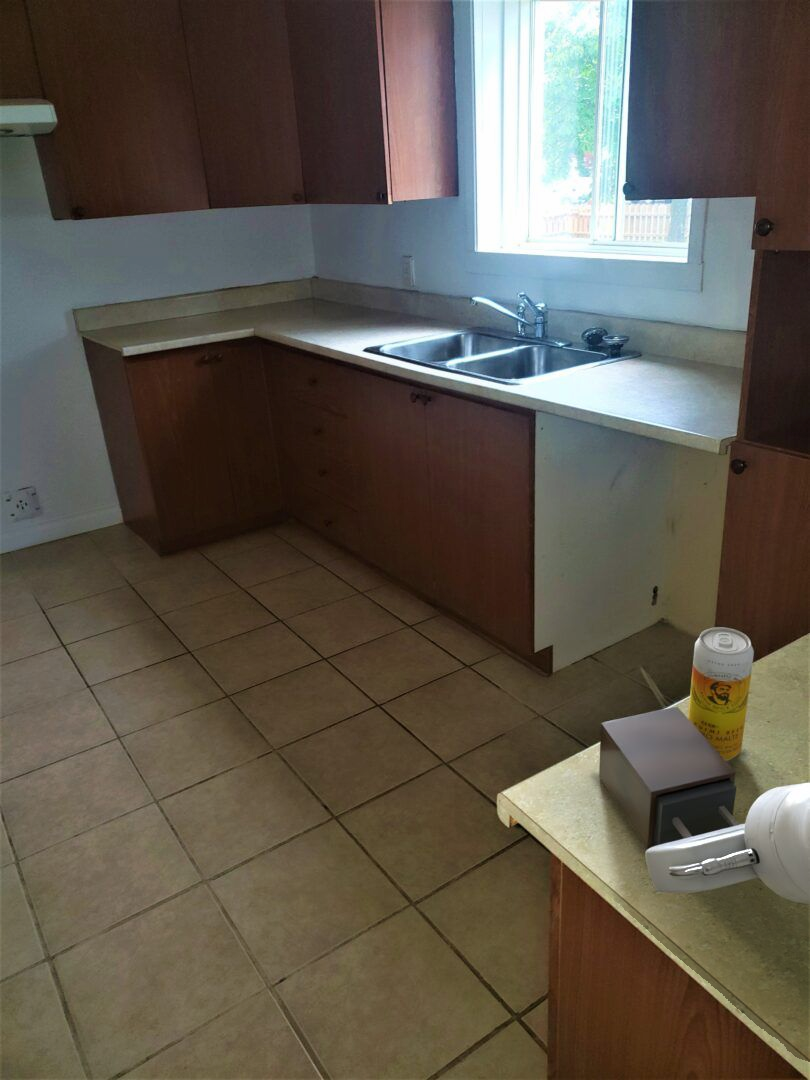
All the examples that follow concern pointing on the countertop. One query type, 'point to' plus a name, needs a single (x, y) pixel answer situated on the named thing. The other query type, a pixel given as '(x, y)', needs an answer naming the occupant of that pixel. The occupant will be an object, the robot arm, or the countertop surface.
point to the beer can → (721, 688)
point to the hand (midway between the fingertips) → (724, 845)
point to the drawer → (694, 811)
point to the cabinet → (655, 763)
